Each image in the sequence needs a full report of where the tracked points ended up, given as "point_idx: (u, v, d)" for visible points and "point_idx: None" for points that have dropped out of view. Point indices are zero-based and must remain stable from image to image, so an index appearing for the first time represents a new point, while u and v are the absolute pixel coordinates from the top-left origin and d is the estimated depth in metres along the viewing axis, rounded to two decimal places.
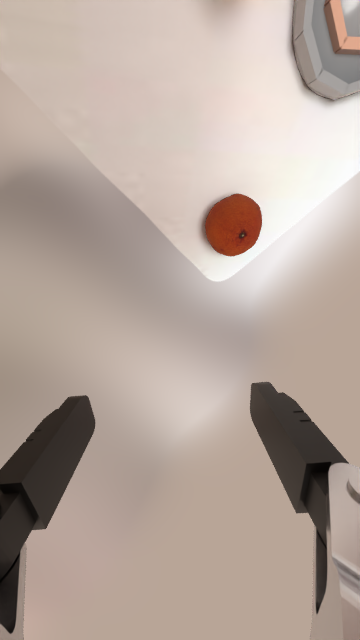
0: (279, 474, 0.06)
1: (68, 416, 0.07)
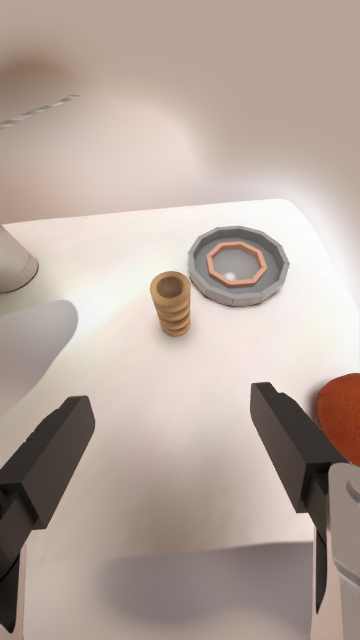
0: (279, 474, 0.06)
1: (68, 416, 0.07)
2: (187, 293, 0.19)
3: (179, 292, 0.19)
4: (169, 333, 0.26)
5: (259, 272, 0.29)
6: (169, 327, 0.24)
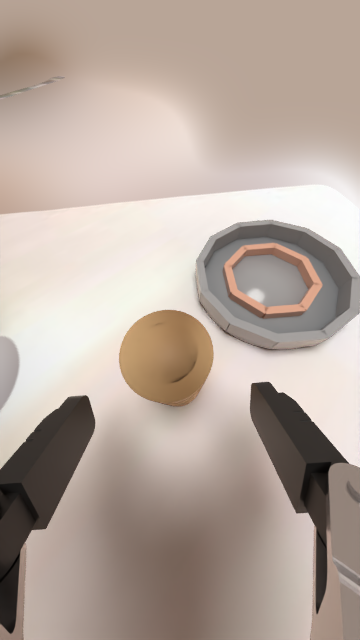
0: (279, 474, 0.06)
1: (68, 416, 0.07)
2: (207, 370, 0.08)
3: (188, 366, 0.08)
4: None
5: (311, 292, 0.18)
6: None
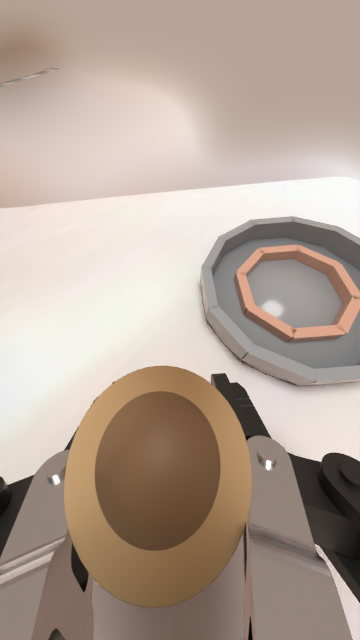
0: None
1: None
2: (242, 512, 0.04)
3: (201, 502, 0.04)
4: None
5: (350, 309, 0.14)
6: None
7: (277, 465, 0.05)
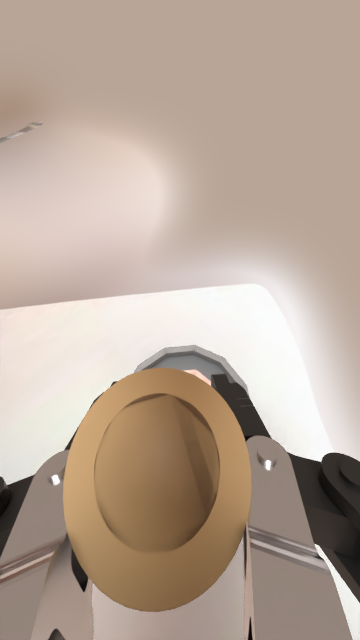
0: None
1: None
2: (242, 516, 0.04)
3: (201, 505, 0.04)
4: None
5: None
6: None
7: (277, 465, 0.05)
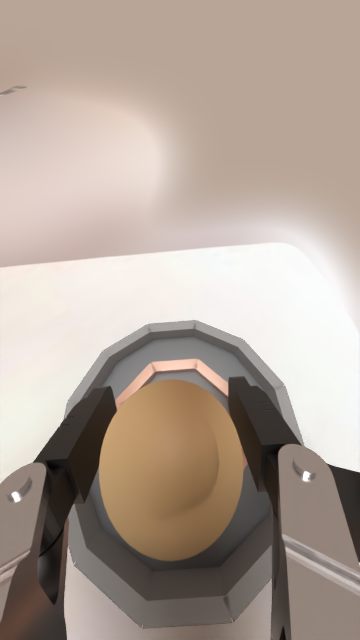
0: (247, 459, 0.07)
1: (97, 403, 0.08)
2: (235, 494, 0.05)
3: (205, 486, 0.05)
4: None
5: None
6: None
7: (318, 477, 0.04)
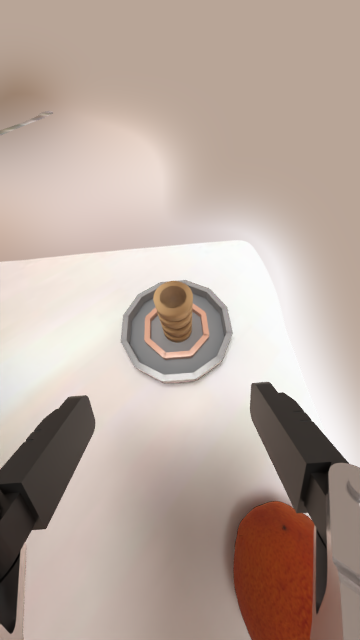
0: (279, 474, 0.06)
1: (68, 416, 0.07)
2: (190, 303, 0.19)
3: (182, 302, 0.19)
4: (171, 340, 0.26)
5: (199, 341, 0.26)
6: (172, 334, 0.24)
7: None
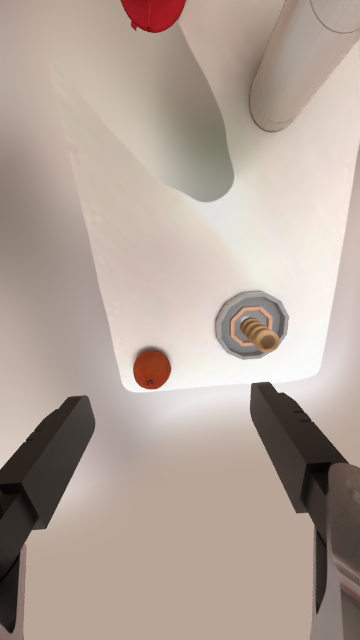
0: (279, 474, 0.06)
1: (68, 416, 0.07)
2: (261, 351, 0.34)
3: (263, 347, 0.34)
4: (242, 324, 0.41)
5: (239, 340, 0.42)
6: (245, 328, 0.39)
7: None
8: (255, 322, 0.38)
